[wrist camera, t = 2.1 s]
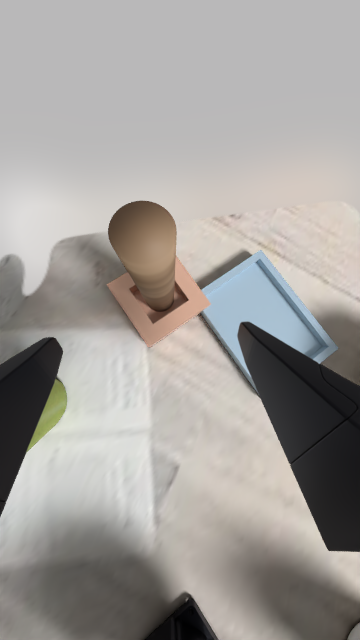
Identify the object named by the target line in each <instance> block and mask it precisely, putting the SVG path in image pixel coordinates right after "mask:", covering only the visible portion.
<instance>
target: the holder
mask: <svg viewBox="0 0 360 640" xmlns="http://www.w3.org/2000/svg"><path fill="white" fill-rule="evenodd" d="M107 286H108V287H109V289H110V290H111V292H112V293H113V295H114V296H115V298H116V299H117V301H118V302H119V304H120V305H121V307H122V308H123V310H124V311H125V313H126V314H127V316H128V317H129V319H130V320H131V322H132V323H133V325H134V326H135V328H136V329H137V331H138V332H139V334H140V335H141V337H142V338H143V340H144V341H145V343H146V344H147V346H148V347H152V346H153V345H155V344H156V343H158V342H159V341H161V340H162V339H163V338H165V337H166V336H168V335H169V334H171V333H172V332H174V331H175V330H176V329H178V328H179V327H181V326H182V325H184V324H185V323H187V322H188V321H190V320H191V319H192V318H194V317H195V316H197V315H198V314H200V313H201V312H202V311H203V310H204V309H205V308H207V307H208V306H210V305H211V303H210V302H209V300H208V299H207V298H206V296H205V295H204V294H203V292H202V291H201V289H200V288H199V287H198V285H197V284H196V282H195V281H194V280H193V278H192V277H191V276H190V274H189V273H188V271H187V270H186V269H185V267H184V266H183V265H182V263H181V262H180V260H179V259H178V258H177V256H176V260H175V287H174V302H173V305H172V306H171V307H170V308H169V309H168V310H166V311H164V312H156V311H154V310H152V309H151V308H150V307H149V306H148V304H147V303H146V301H145V299H144V298H143V296H142V294H141V293H140V291H139V289H138V288H137V286H136V285H135V283H134V281H133V280H132V278H131V276H130V275H129V273H128V272H126V273H125V274H123V275H121V276H120V277H118V278H116V279H115V280H113V281H112V282H110V283H108V284H107Z"/></svg>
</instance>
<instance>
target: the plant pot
mask: <svg viewBox="0 0 360 640" xmlns="http://www.w3.org/2000/svg"><path fill="white" fill-rule="evenodd" d="M66 404H67V395H66V391H65V388H64V386H63V384H62V383H61V382H60V381H58V380H57V379H55V383H54V385H53V388H52V390H51V393H50V395H49V398H48V400H47V403H46V405H45V408H44V410H43V413H42V415H41V417H40V420H39V422H38V425H37V427H36V430H35V432H34V435H33V437H32V440H31V442H30V445H29V447H28V449H27V451H29V450H30V449H31V448H32V447H33V446H34V445H35V444H36V443H37V442H38V441H39V440H40V439H41V438H42V437H43V436H44V435H45V434H46V433H47V432H48V431H50V430H51V429H52V428H53V427H54V426H55V425H56V424H57V423H58V421H59V420H60V418H61V417H62V415H63V414H64V412H65V409H66Z"/></svg>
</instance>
